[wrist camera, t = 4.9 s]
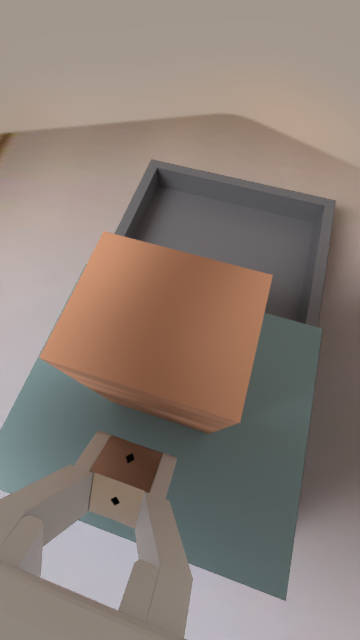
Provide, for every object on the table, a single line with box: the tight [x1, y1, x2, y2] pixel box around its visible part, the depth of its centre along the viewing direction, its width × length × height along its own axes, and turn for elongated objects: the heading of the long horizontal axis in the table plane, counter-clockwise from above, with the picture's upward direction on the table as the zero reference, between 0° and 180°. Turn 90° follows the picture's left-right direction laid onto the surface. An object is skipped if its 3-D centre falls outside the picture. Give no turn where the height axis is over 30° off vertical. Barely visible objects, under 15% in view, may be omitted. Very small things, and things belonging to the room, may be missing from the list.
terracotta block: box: [39, 231, 273, 434], centre depth 11 cm, size 5×4×8 cm
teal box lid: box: [0, 264, 322, 601], centre depth 17 cm, size 14×12×6 cm
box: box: [115, 159, 336, 327], centre depth 24 cm, size 16×13×2 cm
